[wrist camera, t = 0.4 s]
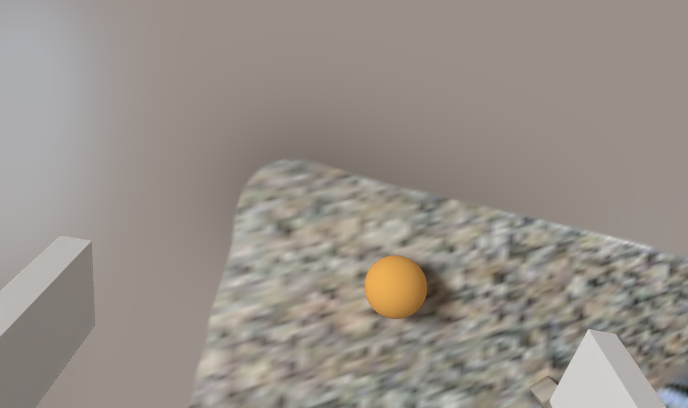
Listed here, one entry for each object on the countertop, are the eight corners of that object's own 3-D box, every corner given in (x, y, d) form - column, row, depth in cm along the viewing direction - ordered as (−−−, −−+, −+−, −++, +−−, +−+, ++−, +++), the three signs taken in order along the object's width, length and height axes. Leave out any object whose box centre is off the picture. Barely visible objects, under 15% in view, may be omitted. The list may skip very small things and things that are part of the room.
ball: (435, 292, 45) (443, 302, 40) (385, 323, 46) (386, 337, 40) (403, 242, 46) (406, 245, 40) (354, 273, 46) (350, 280, 41)
